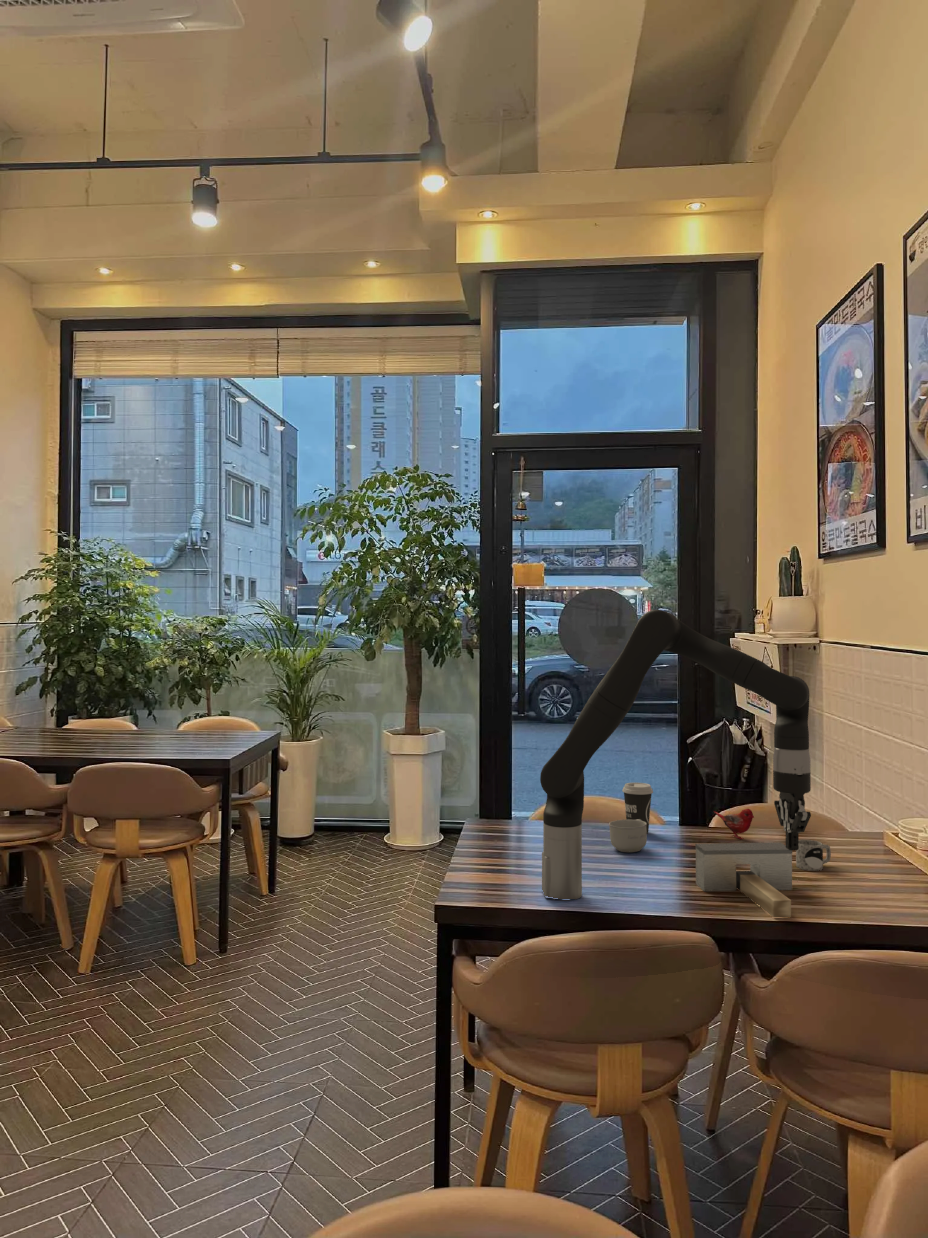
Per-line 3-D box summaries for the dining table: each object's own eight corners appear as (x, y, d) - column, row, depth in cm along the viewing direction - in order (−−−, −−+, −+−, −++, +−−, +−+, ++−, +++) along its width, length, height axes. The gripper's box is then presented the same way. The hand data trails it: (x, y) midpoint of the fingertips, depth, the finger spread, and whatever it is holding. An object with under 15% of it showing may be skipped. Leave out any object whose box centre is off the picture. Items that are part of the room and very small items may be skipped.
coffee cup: (630, 827, 263) (629, 781, 263) (658, 831, 257) (657, 784, 257) (617, 833, 255) (617, 785, 255) (645, 837, 249) (645, 789, 249)
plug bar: (773, 918, 180) (773, 900, 180) (735, 887, 201) (735, 871, 202) (791, 918, 180) (790, 900, 180) (751, 887, 202) (751, 871, 202)
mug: (807, 872, 214) (807, 846, 214) (790, 865, 221) (790, 840, 221) (839, 869, 217) (838, 844, 217) (821, 862, 223) (821, 838, 223)
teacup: (631, 857, 228) (631, 828, 228) (601, 849, 236) (601, 822, 236) (660, 848, 237) (660, 821, 237) (630, 841, 245) (630, 814, 245)
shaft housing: (704, 891, 198) (704, 850, 198) (695, 883, 204) (695, 843, 204) (792, 890, 199) (792, 849, 199) (781, 882, 205) (780, 842, 205)
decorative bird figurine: (750, 844, 242) (750, 810, 242) (709, 831, 258) (709, 799, 258) (758, 843, 243) (757, 810, 243) (717, 830, 259) (717, 798, 259)
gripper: (761, 764, 182) (762, 841, 181) (788, 774, 168) (788, 858, 168) (794, 763, 182) (795, 841, 182) (823, 774, 169) (824, 858, 168)
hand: (792, 849), depth 175 cm, fingers closed
